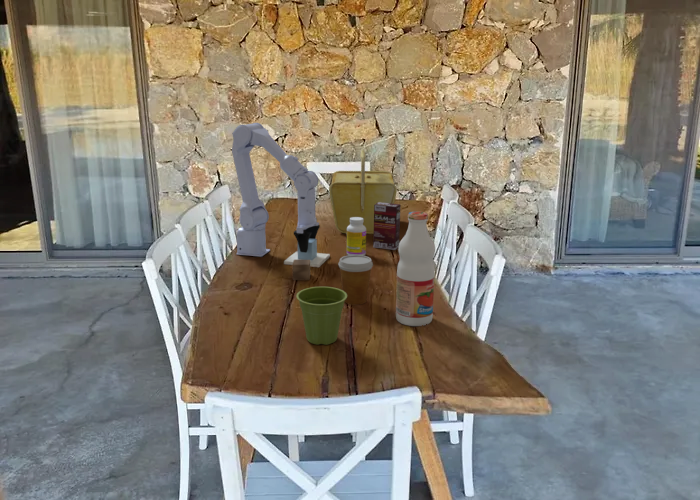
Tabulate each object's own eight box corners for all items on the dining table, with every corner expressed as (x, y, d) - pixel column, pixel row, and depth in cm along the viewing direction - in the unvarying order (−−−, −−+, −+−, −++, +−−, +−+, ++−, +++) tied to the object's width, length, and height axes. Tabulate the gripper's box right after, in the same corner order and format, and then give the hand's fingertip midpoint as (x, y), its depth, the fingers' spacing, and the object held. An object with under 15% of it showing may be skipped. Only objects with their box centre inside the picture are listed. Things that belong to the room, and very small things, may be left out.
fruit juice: (401, 310, 167) (405, 207, 160) (436, 316, 164) (441, 211, 156) (390, 323, 159) (393, 215, 151) (427, 329, 156) (432, 219, 148)
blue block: (297, 259, 208) (297, 241, 207) (302, 254, 213) (302, 237, 211) (312, 260, 207) (311, 242, 206) (316, 256, 212) (316, 238, 210)
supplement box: (372, 247, 226) (373, 204, 221) (377, 244, 230) (378, 201, 225) (395, 250, 223) (396, 206, 218) (399, 247, 227) (401, 203, 222)
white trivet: (284, 264, 206) (283, 261, 206) (296, 254, 217) (296, 251, 217) (318, 267, 203) (318, 264, 203) (329, 256, 214) (329, 254, 214)
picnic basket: (395, 235, 242) (398, 157, 234) (328, 235, 242) (328, 157, 234) (392, 218, 270) (393, 147, 262) (331, 217, 270) (331, 147, 262)
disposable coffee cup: (376, 297, 177) (377, 256, 174) (366, 309, 169) (367, 266, 165) (344, 293, 180) (345, 253, 177) (333, 304, 172) (333, 262, 168)
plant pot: (288, 345, 146) (287, 300, 143) (309, 326, 157) (309, 283, 154) (335, 353, 142) (335, 307, 139) (354, 333, 153) (354, 290, 150)
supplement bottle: (363, 258, 213) (364, 221, 210) (344, 257, 215) (344, 220, 211) (367, 252, 220) (367, 216, 216) (348, 251, 221) (348, 215, 217)
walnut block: (292, 280, 191) (292, 264, 190) (294, 274, 196) (294, 259, 195) (309, 280, 191) (309, 264, 190) (310, 275, 196) (310, 259, 195)
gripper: (311, 214, 198) (311, 256, 202) (325, 205, 211) (325, 244, 215) (290, 213, 200) (290, 254, 203) (305, 204, 213) (305, 242, 217)
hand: (307, 249), depth 209 cm, fingers open, 6 cm apart
